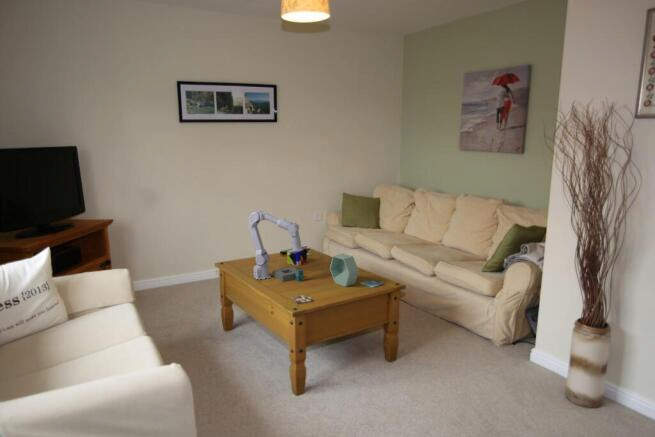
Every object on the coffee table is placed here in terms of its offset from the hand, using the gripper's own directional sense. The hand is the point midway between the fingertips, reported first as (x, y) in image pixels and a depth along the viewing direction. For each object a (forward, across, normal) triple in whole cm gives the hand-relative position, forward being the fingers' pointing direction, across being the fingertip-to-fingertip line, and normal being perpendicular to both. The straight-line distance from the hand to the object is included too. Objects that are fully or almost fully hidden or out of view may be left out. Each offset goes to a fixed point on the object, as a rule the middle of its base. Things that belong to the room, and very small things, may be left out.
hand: (299, 263), depth 299 cm
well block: (+9, -4, +11) cm, 15 cm away
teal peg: (+11, -3, 0) cm, 11 cm away
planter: (+16, +14, -23) cm, 31 cm away
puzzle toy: (+9, +20, +33) cm, 40 cm away
